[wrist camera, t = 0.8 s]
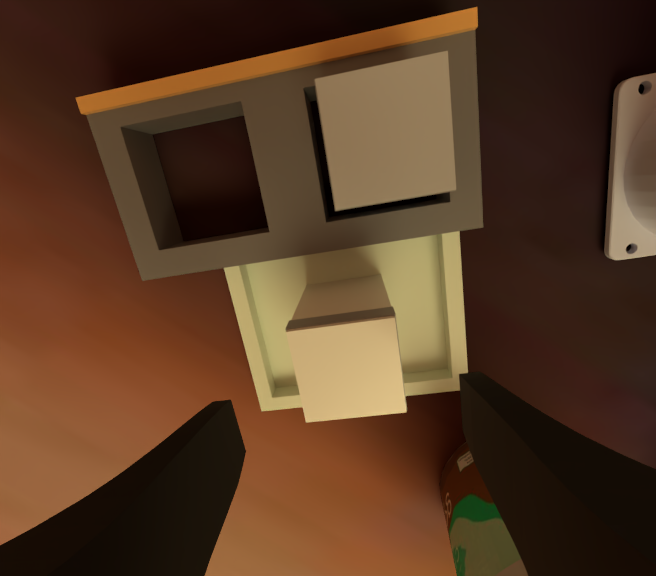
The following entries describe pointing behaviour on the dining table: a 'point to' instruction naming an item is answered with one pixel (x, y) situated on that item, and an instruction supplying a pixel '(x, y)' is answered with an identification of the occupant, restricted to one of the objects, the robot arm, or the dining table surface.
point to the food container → (475, 522)
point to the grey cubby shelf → (281, 149)
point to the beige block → (388, 131)
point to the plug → (347, 350)
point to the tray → (404, 295)
